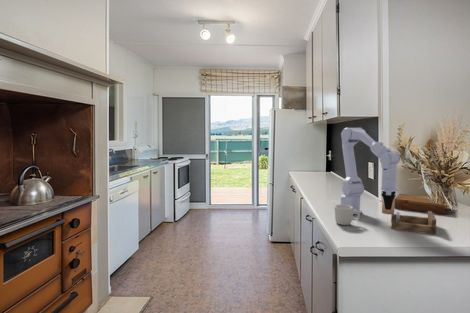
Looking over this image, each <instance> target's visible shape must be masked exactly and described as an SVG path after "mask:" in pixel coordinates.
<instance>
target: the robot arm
mask: <svg viewBox="0 0 470 313" xmlns="http://www.w3.org/2000/svg"><path fill="white" fill-rule="evenodd" d="M340 137H341V149H342V154H343V163H344V169H345V178H344V179H343V180H342V188H341V189H342V190H341V191H342V194H341V196H340V205H348V206H352V207H353V209H354V210H357V211H359V213H360V214H362V210H361V196H362V194H363V193H364V191H365V187H364V184H363V180H362V179H361V178H360V177H359V176H358V172H357V163H356V157H355V150H354V146H355V145H356V144H357V143H359V142H362V143H364V144H365V145H366V146H367V147H369V149H370V150H369V151H370V152H371V153H373V154H374V155H375V156H376V157H377V158H378V159H379V161H380V162H379V163H380V164H381V168H382V169H381V170H382V171H381V172H382V173H381V187H380V189H381V190H382V191H381V194H380V195H381V197H383V199H384V204H385V209H386V210H391V207H392V203H393V200H394V198H396V197H397V196H396V192H397V191H399V190H400V189H399V188H398V187H397V175H398V174H397V172H398V171H397V167H398V164H399V163H400V161H401V155H400V154H399V153H398V152H397V151H395V150H394V151H392V150H391V148H389V147H387V146H386V145H384V143H383V142H382V141H376V140H374V138H372V137H371V136H370V135H369V134H368V133H367V132H366V130H365V129H363V127H345V128H343V129H342V131H341V133H340ZM399 192H400V191H399ZM353 215H358V214H357V212H354V213H353Z"/></svg>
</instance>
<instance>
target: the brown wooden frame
mask: <svg viewBox="0 0 470 313" xmlns="http://www.w3.org/2000/svg"><path fill="white" fill-rule="evenodd" d="M390 215H391V218H390V220H391V223H390V224H391V226H390V228H391V230H396V231H397V230H398V231H404V232H413V233H421V234H428V235H436V231H437V218H436V217H435V215H434V213H432V211H428V213H427V217H426V216H415V215H406V214H400V222H396V213H394V214H390Z"/></svg>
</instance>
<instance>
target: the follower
mask: <svg viewBox="0 0 470 313" xmlns="http://www.w3.org/2000/svg"><path fill="white" fill-rule="evenodd" d="M395 214H396V221H395V222H400V215H401V214H400V212H398V211H397V212H396V213H395Z"/></svg>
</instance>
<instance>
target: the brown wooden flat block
mask: <svg viewBox="0 0 470 313" xmlns="http://www.w3.org/2000/svg"><path fill="white" fill-rule="evenodd" d="M427 197H428V196H427V195H426V196H425V195H417V194H416V195H415V194H406V193H399V194H398V195H397V196H395V206H394V208H395V209H394V210H402V209H403V211H410V212H411V211H412V212H418V211H419V212H420V213H426V212H428V211H432V213H433V214H434V213H436V214H435V215H442V214H444V216H445V215H446V212H445V209H446V210H447V206H446V205H447V204H446V205H444V204H439V203H434V202H431V201H429V200H428V199H427Z"/></svg>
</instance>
